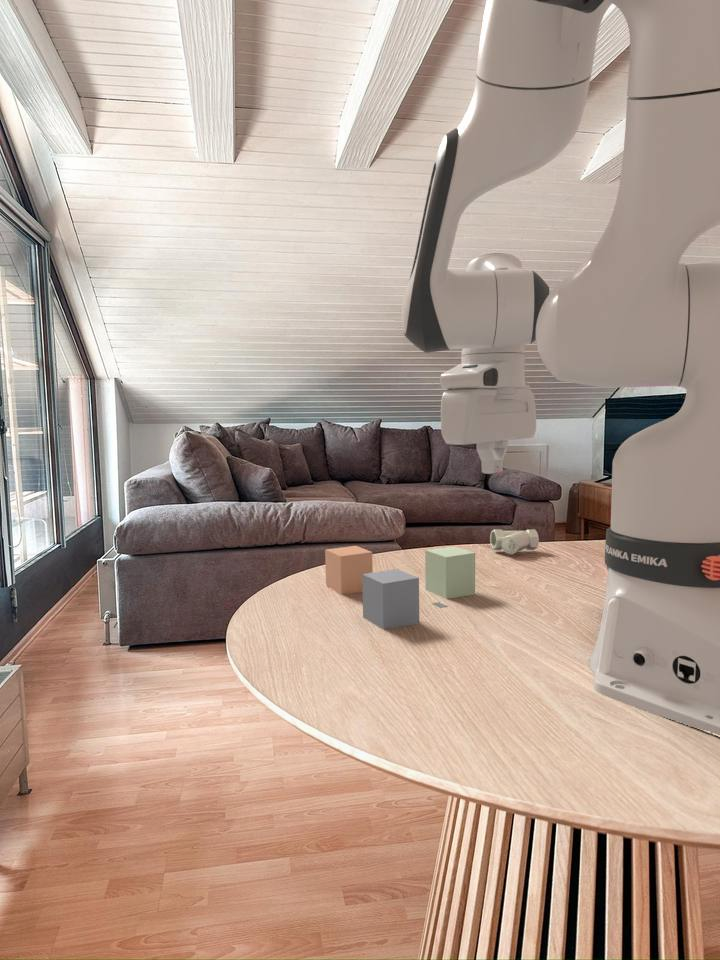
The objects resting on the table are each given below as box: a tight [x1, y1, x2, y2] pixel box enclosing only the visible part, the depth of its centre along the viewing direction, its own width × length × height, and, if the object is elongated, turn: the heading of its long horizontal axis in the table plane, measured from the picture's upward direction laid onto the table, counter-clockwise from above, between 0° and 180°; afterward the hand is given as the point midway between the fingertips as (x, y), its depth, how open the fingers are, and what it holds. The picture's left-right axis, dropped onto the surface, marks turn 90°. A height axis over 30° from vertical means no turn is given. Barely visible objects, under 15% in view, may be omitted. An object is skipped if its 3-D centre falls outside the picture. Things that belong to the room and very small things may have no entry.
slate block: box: [362, 568, 420, 630], centre depth 78 cm, size 5×5×6 cm
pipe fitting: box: [489, 528, 540, 555], centre depth 116 cm, size 8×4×7 cm
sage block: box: [424, 546, 476, 600], centre depth 91 cm, size 5×5×6 cm
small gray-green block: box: [431, 601, 449, 609], centre depth 85 cm, size 2×1×1 cm, turn 28°
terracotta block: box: [324, 545, 373, 595], centre depth 92 cm, size 5×5×6 cm
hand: (492, 472), depth 93 cm, fingers closed
